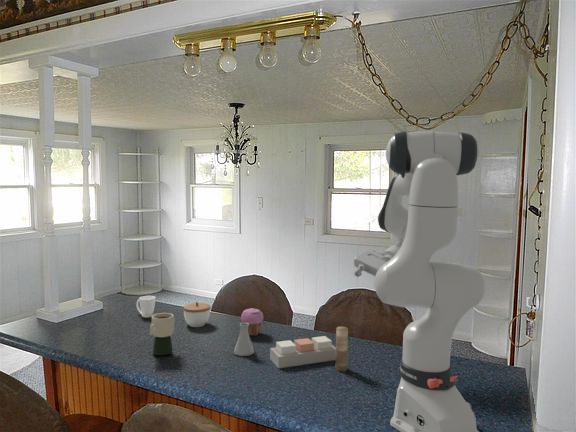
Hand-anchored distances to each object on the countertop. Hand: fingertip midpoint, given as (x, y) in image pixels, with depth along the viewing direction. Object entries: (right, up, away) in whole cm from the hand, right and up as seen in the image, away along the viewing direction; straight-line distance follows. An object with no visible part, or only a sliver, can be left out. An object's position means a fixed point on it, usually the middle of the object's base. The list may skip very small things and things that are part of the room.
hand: (368, 280), depth 135 cm
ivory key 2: (-14, -24, +10) cm, 29 cm away
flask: (-40, -27, +13) cm, 50 cm away
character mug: (-67, -26, +11) cm, 73 cm away
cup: (-87, -23, +53) cm, 105 cm away
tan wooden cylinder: (-8, -28, +1) cm, 29 cm away
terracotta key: (-20, -24, +8) cm, 32 cm away
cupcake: (-39, -25, +31) cm, 56 cm away
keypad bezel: (-20, -27, +8) cm, 35 cm away
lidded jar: (-62, -24, +42) cm, 79 cm away
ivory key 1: (-26, -24, +5) cm, 36 cm away
